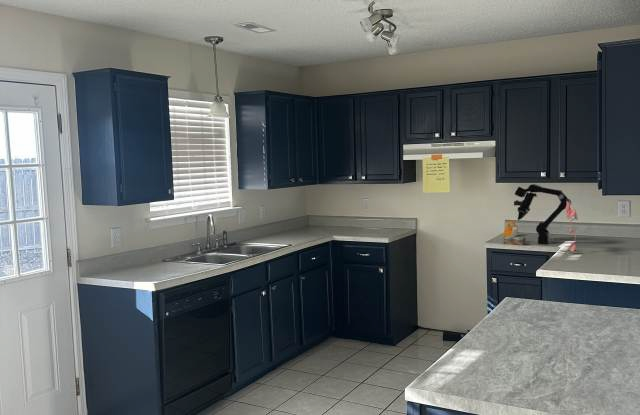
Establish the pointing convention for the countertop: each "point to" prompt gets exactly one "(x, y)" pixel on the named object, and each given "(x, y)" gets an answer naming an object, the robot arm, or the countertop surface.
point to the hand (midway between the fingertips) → (519, 219)
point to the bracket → (508, 229)
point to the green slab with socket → (514, 240)
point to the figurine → (570, 214)
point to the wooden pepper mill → (515, 231)
